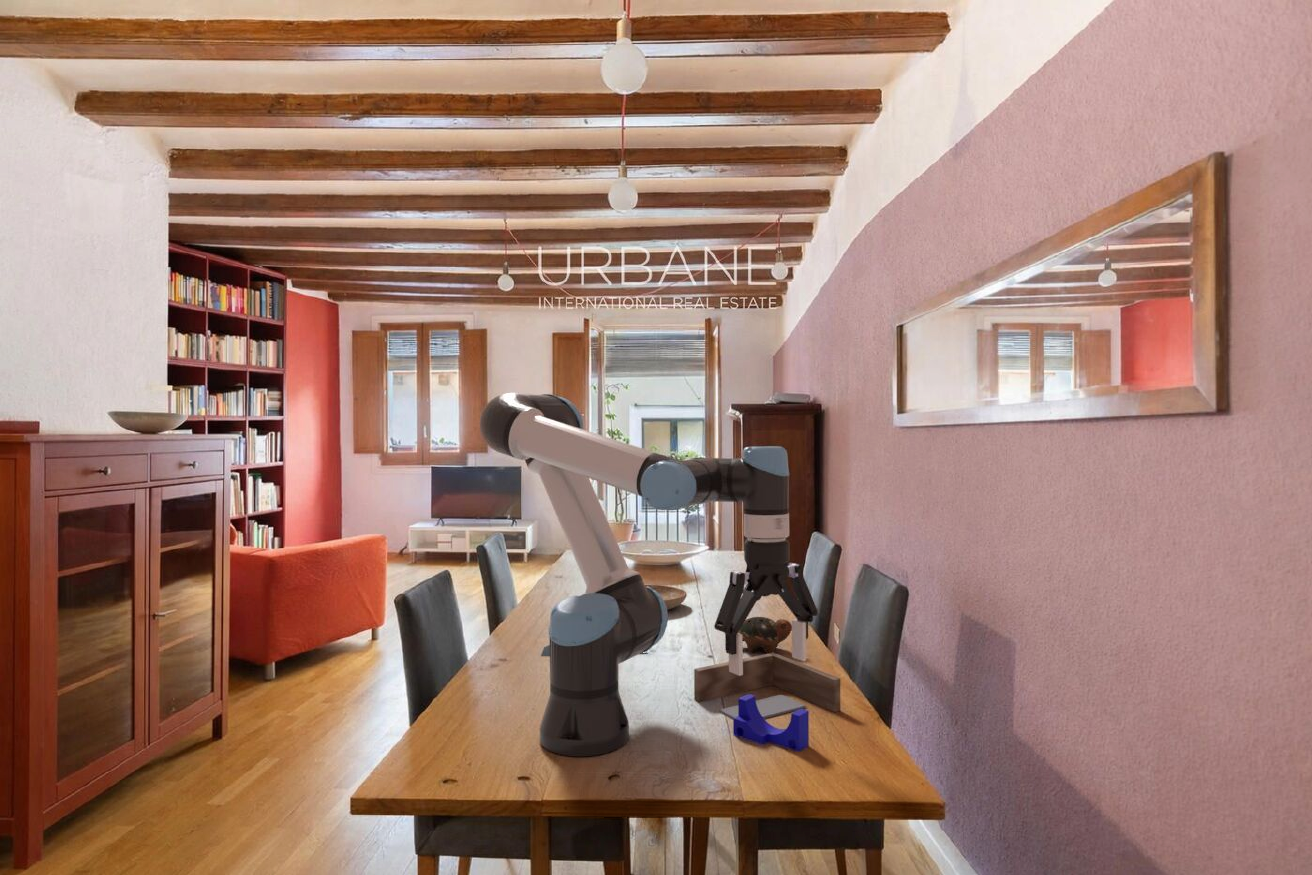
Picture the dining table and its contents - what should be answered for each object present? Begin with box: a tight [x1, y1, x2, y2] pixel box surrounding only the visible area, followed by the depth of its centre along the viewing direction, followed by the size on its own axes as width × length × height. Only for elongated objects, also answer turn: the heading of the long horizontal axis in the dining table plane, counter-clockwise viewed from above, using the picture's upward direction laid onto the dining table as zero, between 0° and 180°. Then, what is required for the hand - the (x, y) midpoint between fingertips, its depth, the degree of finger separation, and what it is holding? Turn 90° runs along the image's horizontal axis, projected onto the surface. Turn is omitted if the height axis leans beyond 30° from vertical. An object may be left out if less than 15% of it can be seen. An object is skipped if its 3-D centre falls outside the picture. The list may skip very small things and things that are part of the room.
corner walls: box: [693, 652, 841, 713], centre depth 141 cm, size 20×19×6 cm
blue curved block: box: [732, 693, 810, 753], centre depth 125 cm, size 12×4×6 cm, turn 49°
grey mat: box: [718, 693, 806, 720], centre depth 138 cm, size 15×7×1 cm, turn 121°
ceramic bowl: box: [644, 584, 688, 611], centre depth 218 cm, size 23×24×5 cm
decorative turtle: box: [738, 616, 792, 654], centre depth 176 cm, size 10×15×8 cm, turn 73°
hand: (768, 666), depth 123 cm, fingers open, 13 cm apart
